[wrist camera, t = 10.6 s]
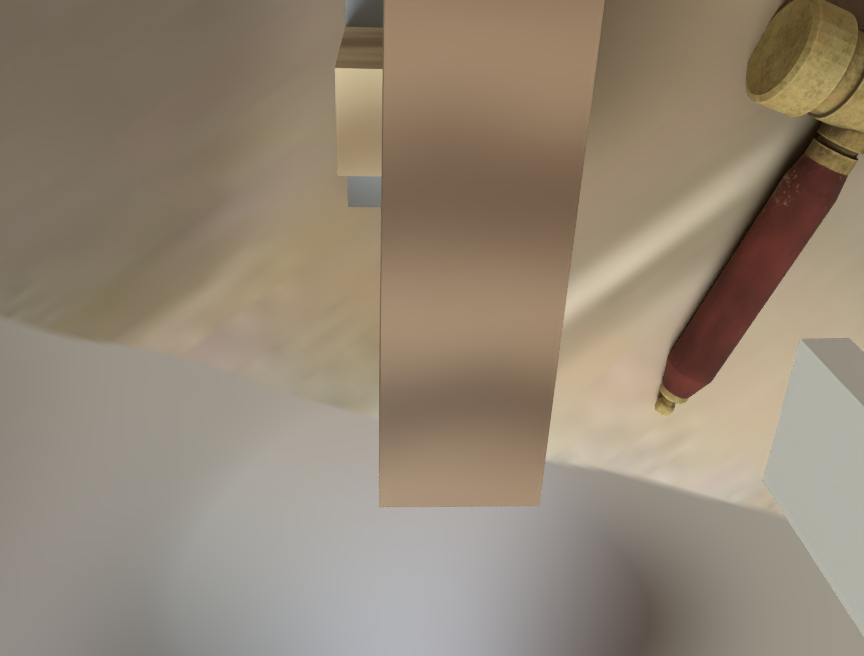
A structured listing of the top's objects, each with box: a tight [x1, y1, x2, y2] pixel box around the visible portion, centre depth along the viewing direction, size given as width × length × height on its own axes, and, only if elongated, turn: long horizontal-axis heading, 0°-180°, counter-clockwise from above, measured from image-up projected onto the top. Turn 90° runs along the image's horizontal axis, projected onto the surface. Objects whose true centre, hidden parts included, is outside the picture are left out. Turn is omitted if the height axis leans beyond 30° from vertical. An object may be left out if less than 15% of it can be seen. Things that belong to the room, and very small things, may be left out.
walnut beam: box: [379, 0, 605, 507], centre depth 24 cm, size 20×5×7 cm, turn 178°
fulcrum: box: [335, 0, 383, 207], centre depth 31 cm, size 12×8×10 cm, turn 178°
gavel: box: [655, 0, 864, 416], centre depth 39 cm, size 21×5×10 cm
